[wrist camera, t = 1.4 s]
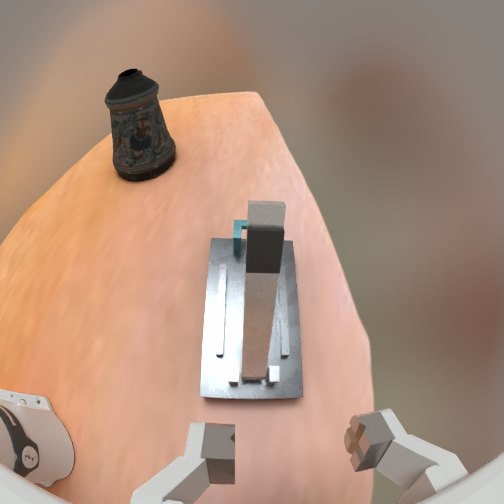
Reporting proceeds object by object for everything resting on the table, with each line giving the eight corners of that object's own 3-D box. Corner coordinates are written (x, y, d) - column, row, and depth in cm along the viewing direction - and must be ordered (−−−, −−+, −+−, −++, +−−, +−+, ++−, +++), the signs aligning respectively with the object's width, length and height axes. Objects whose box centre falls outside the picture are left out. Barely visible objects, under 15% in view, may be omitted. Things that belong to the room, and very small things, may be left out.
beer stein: (125, 192, 58) (94, 98, 37) (108, 154, 66) (85, 77, 45) (187, 164, 63) (176, 70, 42) (159, 132, 71) (148, 55, 50)
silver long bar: (241, 374, 33) (241, 384, 31) (248, 200, 23) (248, 206, 21) (264, 374, 33) (265, 384, 32) (283, 201, 23) (286, 207, 21)
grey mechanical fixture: (203, 397, 36) (195, 394, 29) (213, 248, 51) (209, 218, 43) (296, 398, 37) (311, 395, 30) (288, 250, 51) (296, 221, 44)
